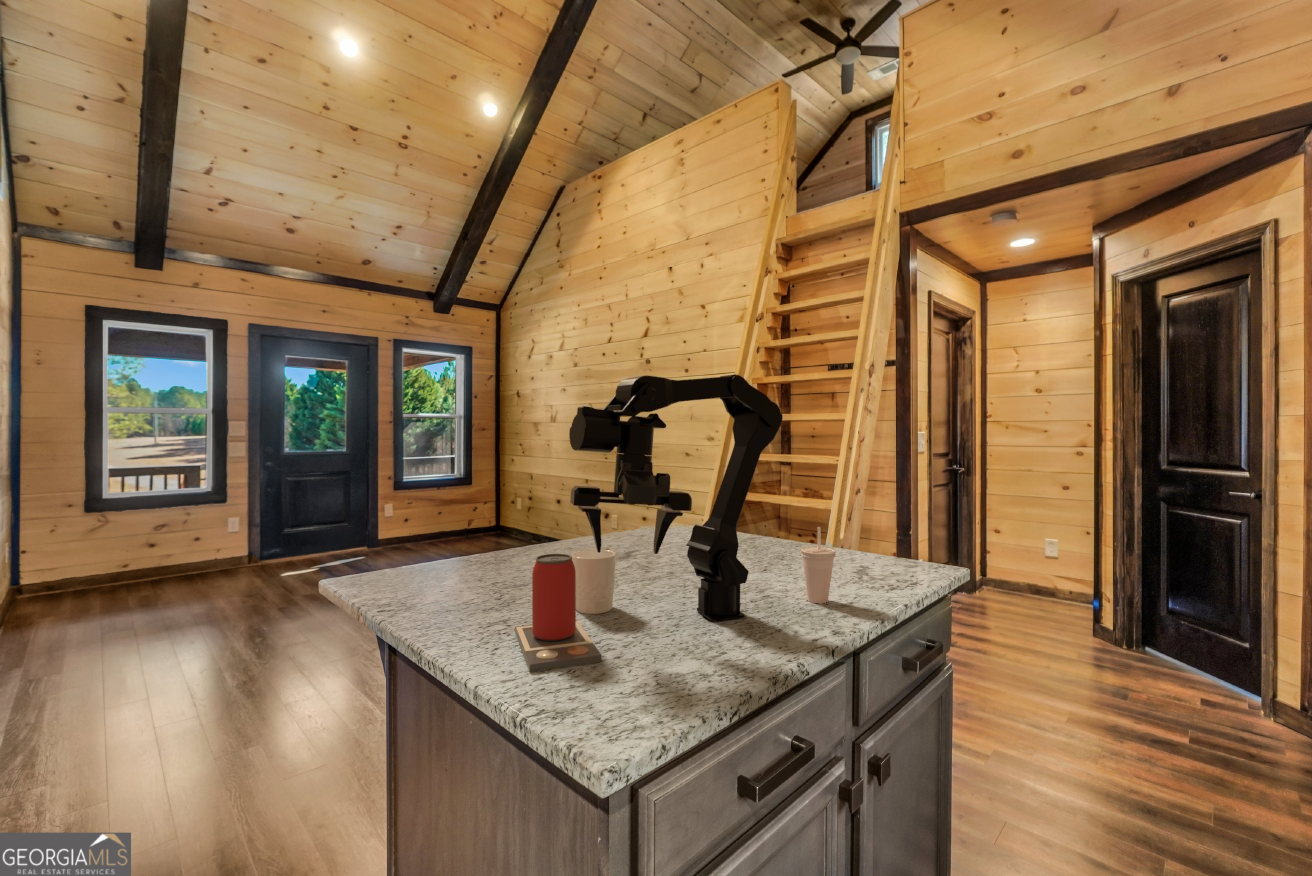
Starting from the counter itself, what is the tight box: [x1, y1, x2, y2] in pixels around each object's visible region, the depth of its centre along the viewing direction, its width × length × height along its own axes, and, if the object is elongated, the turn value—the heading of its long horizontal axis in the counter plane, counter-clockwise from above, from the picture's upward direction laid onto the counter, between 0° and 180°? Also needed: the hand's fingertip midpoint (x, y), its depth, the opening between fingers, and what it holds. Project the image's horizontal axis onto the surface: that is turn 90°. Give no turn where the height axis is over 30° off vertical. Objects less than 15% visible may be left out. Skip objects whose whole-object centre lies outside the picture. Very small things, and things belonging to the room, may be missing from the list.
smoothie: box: [800, 526, 837, 605], centre depth 112 cm, size 6×6×14 cm
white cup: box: [571, 548, 617, 615], centre depth 107 cm, size 8×8×10 cm
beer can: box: [531, 553, 577, 641], centre depth 91 cm, size 7×7×12 cm
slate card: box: [514, 619, 603, 673], centre depth 89 cm, size 10×16×1 cm, turn 20°
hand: (627, 552), depth 94 cm, fingers open, 9 cm apart
